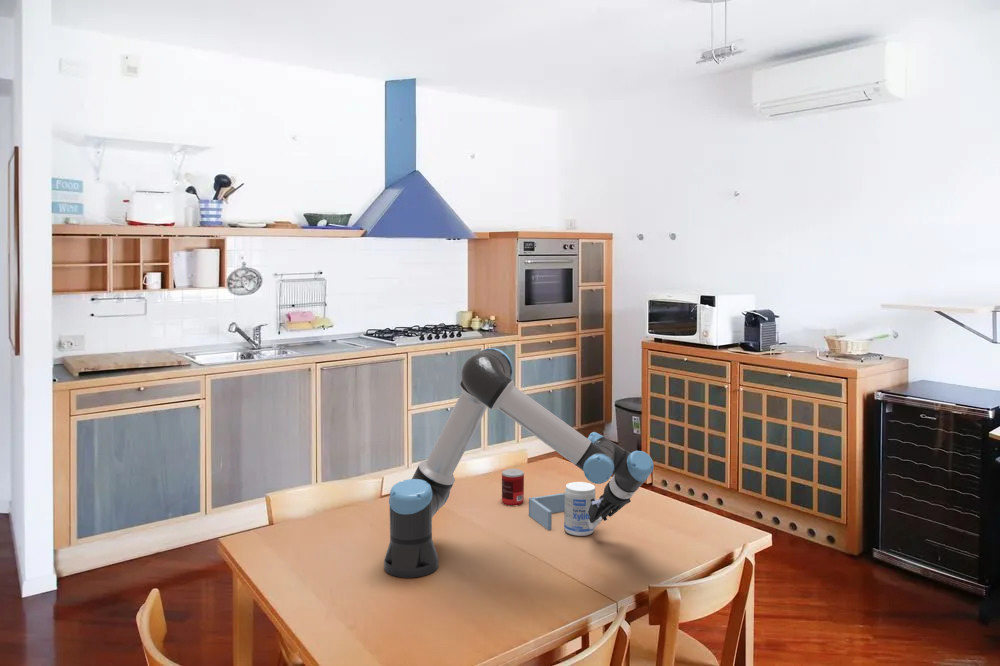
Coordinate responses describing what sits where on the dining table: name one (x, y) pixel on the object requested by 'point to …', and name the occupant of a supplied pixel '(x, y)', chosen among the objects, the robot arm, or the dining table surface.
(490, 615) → the dining table surface
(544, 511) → the bay
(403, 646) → the dining table surface
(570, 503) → the supplement tub
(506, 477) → the canned food
